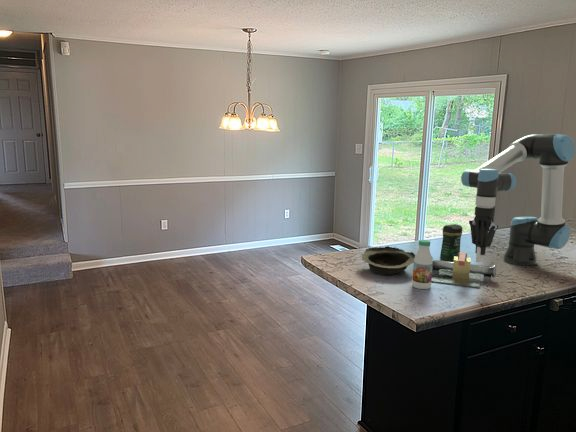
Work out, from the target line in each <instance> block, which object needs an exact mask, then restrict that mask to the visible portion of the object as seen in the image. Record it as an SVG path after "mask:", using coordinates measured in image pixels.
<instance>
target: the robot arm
mask: <svg viewBox="0 0 576 432" xmlns="http://www.w3.org/2000/svg"><path fill="white" fill-rule="evenodd" d="M575 145H576V144H575V142H574V139H573V138H572V137H571V136H570V135H567V134H560V133H533V134H528V135H525V136H523V137H521V138H519V139H516V140H515V141H513V142H512V143H510V144H509V145H508V146H507V148H506V149H505V150H503V151H501V152H500V153H498V154H496V155H495V156H493V158H490V159H488V160H487V161H486V162H483V164H481V165H480V166H478V167H477V168H475V169H465V170H463V172H462V173H461V176H460V180H461V181H460V182H461V184H462V185H463V186H465V187H467V188H468V187H469V188H475V189H476V195H475V196H476V197H475V204H474V205H476V206H475V208H474V217H473V219H472V220H469V221H468V224H469V226H470V227H469V228H470V234H471V236H470V237H471V244H473V245H475V255H476V257H475V262H476V263H483V262H484V256H485V255H486V249H487V248H488V247H492V243H493V240H494V237H495V233H496V231H497V230H498V228H499V225H496V223H494V216H495V212H496V211H495V210H496V209H495V206H496V201H497V192H507V191H512V190H513V189H514V188H516V185H517V178H516V176H515V175H514V174H513V173H510V172H504V171H505V170H507V169H508V168H510V167H511V166H513V165H514V164H516V163H518V162H519V163H520V162H523V161H525V160H529V159H530V160H531V159H532V160H534V159H535V160H539V161H538V162H539V163H538V164H539V166H541V168H542V177H541V178H542V180H541V181H542V183H541V204H540V205H541V206H540V208H541V209H540V211H541V212H540V217H539V218H538V217H536V216H515V217H513V218H512V219H511V222H510V225H509V227H510V228H509V238H508V246H507V247H506V250H505V251H504V254H503V257H502V258H503V259H502V260H503V261H504V262H506V263H508V264H511V265H512V264H513V265H519V266H535V265H536V264H537V256H536V251H535V246H540V247H544V248H548V249H552V250H553V249H554V250H561V249H563V248H564V247H565V246H566V245H567V243H568V242H569V239H570V236H571V232H572V231H571V228H570V227H569V226H568V225H566V220H565V219H564V218H563V201H564V200H563V199H564V175H565V167H567V165H569V162H570V161H571V160H572V159H573V158H574V157H575V156H574V155H575V153H576V152H575V151H576V146H575Z"/></svg>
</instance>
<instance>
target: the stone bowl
mask: <svg viewBox="0 0 576 432" xmlns="http://www.w3.org/2000/svg"><path fill="white" fill-rule="evenodd" d="M415 255H416V254H415V253H414V252H412V251H406V250H404V249H402V248H399V247H395V246H394V247H392V246H389V245H386V246H384V247H383V246H378V247H377V246H376V247H368V248H366V249H365V250H364V252H363V253H361V259H362V261H364V262H365V264H367V265H368V267H369V270H371V272H373V273H374V274H378V275H384V276H389V275H395V274H398V273H401V272H403V271H406V269H407V268H408V267H409V266H410V265H412V264H414V258H415Z"/></svg>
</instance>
